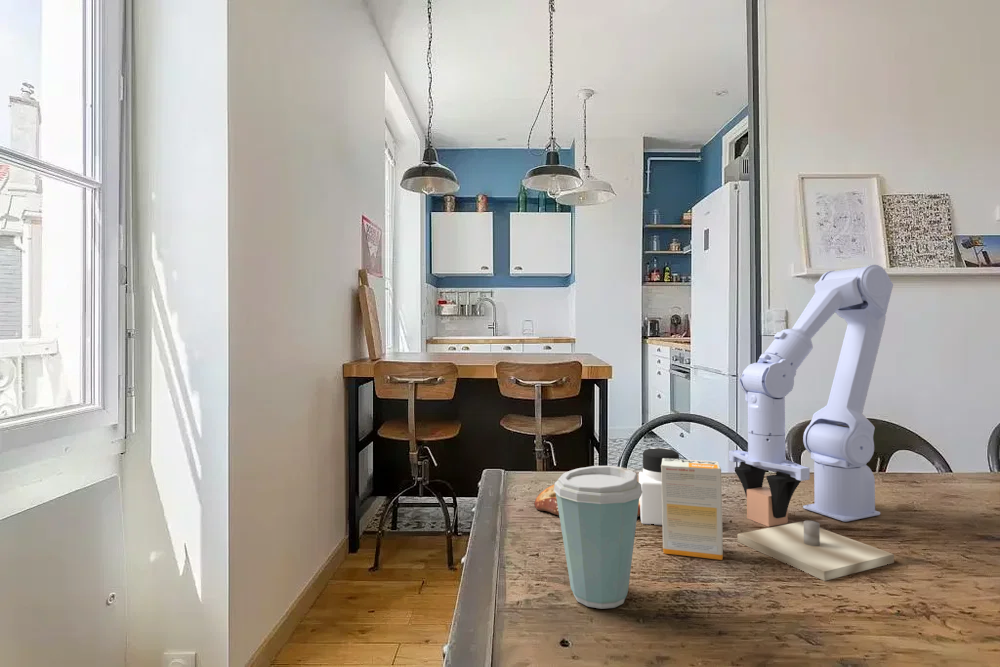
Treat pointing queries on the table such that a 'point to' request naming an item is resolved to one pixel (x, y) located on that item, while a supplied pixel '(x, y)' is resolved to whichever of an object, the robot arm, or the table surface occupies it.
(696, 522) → the supplement box
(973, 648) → the table surface
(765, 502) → the salmon pink cube
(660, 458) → the medicine bottle
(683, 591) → the table surface
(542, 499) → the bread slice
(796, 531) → the post board
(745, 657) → the table surface
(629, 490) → the disposable coffee cup
